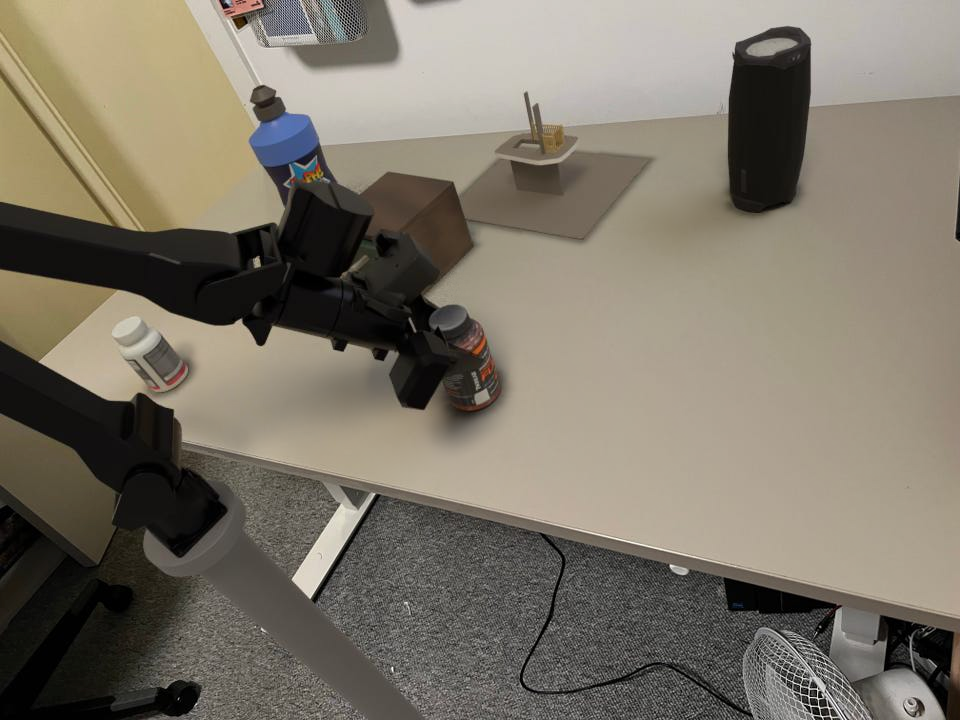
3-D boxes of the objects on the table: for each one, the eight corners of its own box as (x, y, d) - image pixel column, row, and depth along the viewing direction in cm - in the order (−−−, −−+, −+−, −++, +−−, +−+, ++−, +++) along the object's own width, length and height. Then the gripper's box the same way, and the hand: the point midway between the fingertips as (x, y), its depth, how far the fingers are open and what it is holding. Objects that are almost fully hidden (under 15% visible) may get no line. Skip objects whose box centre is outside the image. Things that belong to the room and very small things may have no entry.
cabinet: (414, 305, 84) (386, 239, 77) (352, 285, 91) (321, 223, 84) (473, 246, 91) (453, 181, 84) (411, 232, 98) (387, 171, 91)
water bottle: (368, 237, 100) (300, 80, 83) (316, 265, 98) (235, 109, 81) (348, 217, 107) (280, 67, 90) (298, 242, 105) (220, 94, 88)
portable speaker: (768, 171, 86) (780, 17, 73) (816, 199, 79) (838, 36, 66) (711, 193, 85) (713, 43, 72) (754, 224, 78) (764, 65, 65)
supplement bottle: (502, 409, 67) (475, 331, 59) (448, 417, 68) (415, 342, 61) (501, 369, 71) (476, 292, 64) (451, 377, 72) (420, 303, 65)
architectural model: (513, 148, 109) (495, 65, 100) (649, 159, 96) (642, 65, 86) (442, 215, 99) (414, 130, 90) (582, 239, 85) (566, 142, 76)
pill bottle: (189, 359, 88) (147, 306, 82) (189, 383, 84) (145, 329, 78) (152, 375, 88) (107, 323, 81) (150, 399, 84) (103, 347, 77)
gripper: (390, 285, 47) (549, 334, 55) (346, 187, 61) (478, 238, 69) (334, 398, 52) (488, 427, 60) (304, 283, 65) (434, 320, 74)
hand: (472, 345), depth 65 cm, fingers closed on supplement bottle, 6 cm apart
